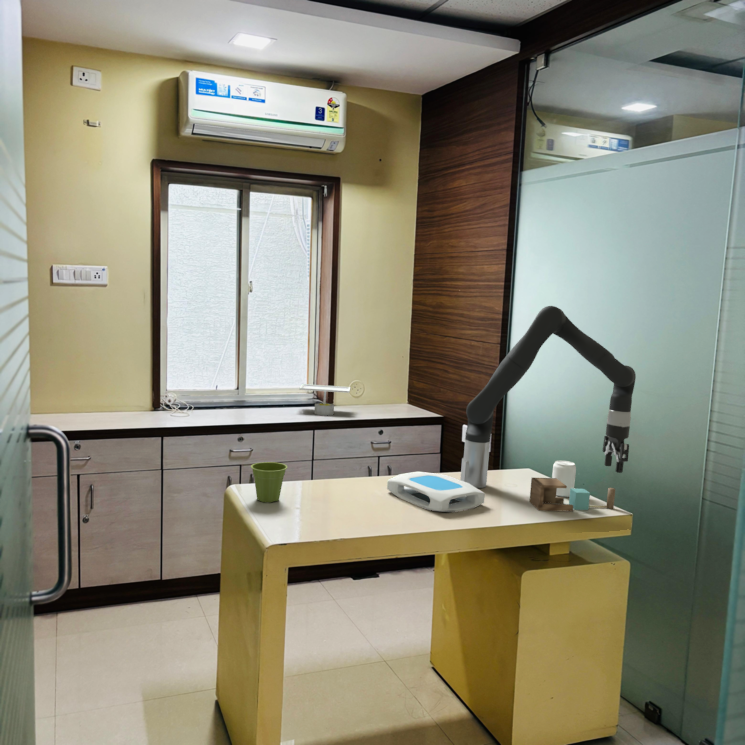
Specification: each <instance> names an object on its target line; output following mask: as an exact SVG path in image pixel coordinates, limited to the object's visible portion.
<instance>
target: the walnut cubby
mask: <svg viewBox="0 0 745 745" xmlns="http://www.w3.org/2000/svg"><path fill="white" fill-rule="evenodd" d="M530 482H531V483H530V492H529V503H530V504H531V505H532V506H534V508H535V509H536V510H538V511H545V512H549V511H550V512H551V511H552V512H574V511H573V510H574V509H573V505H570V504H569V503H568V504H566V503H565V504H564V502H565V497H560V496H556V491H557V488H567V486H566V485H565V484H563V483H562V482H561V481H559V480H558V479H557V478H552V477H551V478H550V477H531V480H530Z"/></svg>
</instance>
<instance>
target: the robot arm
mask: <svg viewBox="0 0 745 745" xmlns="http://www.w3.org/2000/svg"><path fill="white" fill-rule="evenodd" d="M552 335H555V336H557V337H558V338H560V339H562V340H563V341H565V342H566V343H568V344H569V345H570V347H572V348H573V349H574V350H575V351H576V352H577V353H578V354H579V355H581V357H583V359H585V360H586V361H587V362H589V363H590V364H591V365H592V366H593V367H595V368H596V369H598V370H599V371H601V373H603V375H604V376H605V377H606V378H607V379H608V380H609V381H610V382H612V383H613V388H612V393H611V395H610V400H609V407H608V408H609V410H608V414H607V418H606V419H607V421H606V426H605V427H606V428H605V435H604V437H603V444H602V453H604V457H605V458H604V466H606V467H611V466H612V461H613V455H614V456H615V458H616V463H615V472H616V473H619V474H622V473H623V469H624V463H625V462H626V463H628V461H629V452H630V451H629V450H630V444H629V443H625V440H626V439H628V438H629V437H630V428H631V427H630V426H631V419H632V418H631V414H632V413H631V412H632V402H633V393H634V389H635V383H636V377H637V376H636V371H635V369H634V368H633V367H632V366H630V365H626V364H625V365H624V363H622V362H621V361H620V360H618V359H617V358H615V356H614V355H613V353H612V352H610V351H609V350H608V349H606V347H604V346H603V345H602V344H600V343H599V342H598V341H596V340H595V339H593V338H591V336H589V335H587V334H586V333H585V332H584V331H582V330H581V329H579V327H577V325H576V324H574V323H573V322H572V321H571V319H569V317H568V316H567V315H566V314H565V312H564V311H563V310H562V309H561V308H559V307H557V306H555V305H547V306H544V307H543V308H542V309H540V311H538V313H537V314H536V316H535V318H534V320H533V321H532V323H531V325H530V326H529V327H528V329H527V331H526V332H525V333H524V335H522V337H521V338H520V339H519V340H518V341H517V342H516V344H514V346H513V347H512V348H511V350H510V351H509V352H507V355H506V356H505V357H504V358H503V359H502V361H501V362H500V363H499V365H498V367H497V368H496V369H495V371H494V372H493V374H492V375H491V377H490V379H489V381H488V382H487V384H486V385H485V386H484V387H483V388H482V390H480V392H479V393H478V394H477V395H476V396H475V397H474V398H473V399H472V400H471V401H470V402H469V403H468V404H467V406H466V408H465V409H466V411H465V412H466V417H467V426H466V431H465V436H464V448H463V449H464V450H463V457H462V458H461V468H460V469H461V470H460V479H459V480H461V481H464V482H467V483H469V484H471V485H472V486H474V487H476V488H477V489H484V488H486V487H487V482H488V470H489V459H490V458H489V457H490V444H491V436H492V431H493V422H494V411H495V409H496V407H497V406H498V405H499V403H500V401H501V400H502V398H504V396H505V395H507V394H508V393H509V392H510V391H511V389H513V388H514V386H515V387H516V384H518V382H520V381H521V379H522V378H523V376H524V375H526V373H527V372H528V370H529V369H530V368H531V367H532V364H533V363H534V361H535V360H536V357H537V355H538V353H539V351H540V350H541V348H542V346H543V345H544V344H545V343H546V342H547V340H549V338H550V337H551V336H552Z"/></svg>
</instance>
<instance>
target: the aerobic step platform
mask: <svg viewBox="0 0 745 745" xmlns="http://www.w3.org/2000/svg"><path fill="white" fill-rule="evenodd" d="M386 486H387V487H386V489H387V490H388V491H389V492H390V493H391V494H393V495H394V496H396V497H397V499H400V500H403V501H405V502H408V503H409V504H412V505H414V506H417V507H419V508H422V509H425V510H426V511H431V510H432V511H434V512H440V513H441V512H443V513H451V512H452V513H458V511H459V512H463V510H464V511H469V510H472V509H475V508H476V507H478V506H481V505H482V504H484V503H485V498H486V493H485V492H484V491H482V490H480V488H476V487H474V486H472V485H471V484H469V483H467V482H464V481H461V480H460V479H458V478H455V477H453V476H450V475H446V474H444V473H443V474H441V473H435V472H434V473H433V472H425V471H412V472H411V471H410V472H406V473H399V474H397V475H395V476H394V477H391V478H389V479H387V485H386ZM418 493H420V494H423V495H425V496H427V497H428V498H429V502H428V501H426V500H424V499H421V498H418V497H417V496H415V495H414V494H418ZM451 500H455V501H457V502H453V503H450V502H451ZM468 509H469V510H468Z"/></svg>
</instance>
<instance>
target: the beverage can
mask: <svg viewBox="0 0 745 745" xmlns="http://www.w3.org/2000/svg"><path fill="white" fill-rule="evenodd" d="M576 472H577V467H576V464H575V462H573V461H569V460H555V461H554V463H553V466H552V474H551V478H557V479H558V480H559V481H561V482H562V483H563V484H565V485H566V486H567V488H557V491H556V497H563V498H569V497H570V488H574V489H575V483H576V482H575V481H576Z"/></svg>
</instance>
